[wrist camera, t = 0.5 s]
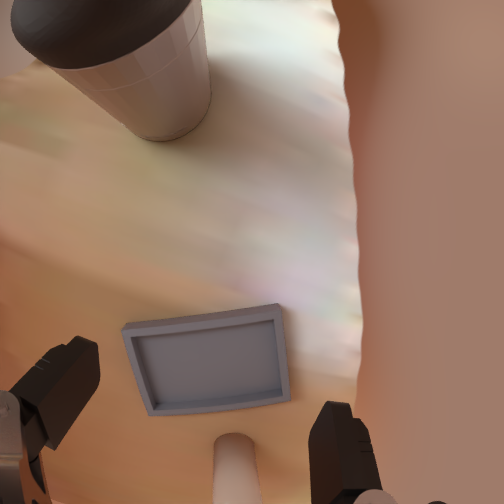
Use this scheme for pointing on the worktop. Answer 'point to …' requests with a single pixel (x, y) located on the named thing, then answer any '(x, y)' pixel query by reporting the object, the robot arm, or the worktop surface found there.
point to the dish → (210, 361)
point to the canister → (235, 471)
